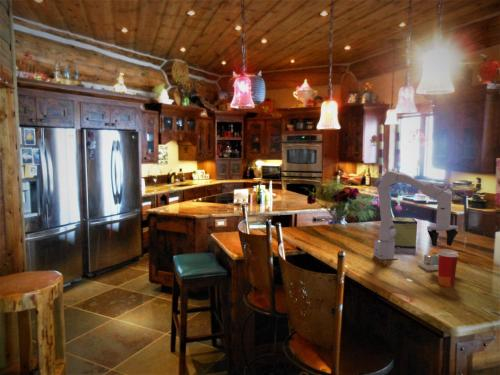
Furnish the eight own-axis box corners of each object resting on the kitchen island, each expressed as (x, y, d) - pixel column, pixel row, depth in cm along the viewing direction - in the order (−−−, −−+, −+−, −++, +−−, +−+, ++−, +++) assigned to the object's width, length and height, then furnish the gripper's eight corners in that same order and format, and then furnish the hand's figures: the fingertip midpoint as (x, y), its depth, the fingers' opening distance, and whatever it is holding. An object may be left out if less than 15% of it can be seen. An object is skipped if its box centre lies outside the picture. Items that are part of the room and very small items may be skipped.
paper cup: (450, 281, 162) (452, 248, 160) (460, 287, 154) (462, 253, 153) (431, 281, 162) (433, 248, 160) (441, 287, 154) (443, 253, 152)
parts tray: (427, 270, 175) (427, 265, 175) (418, 265, 182) (418, 261, 182) (451, 269, 177) (451, 264, 177) (441, 264, 184) (441, 260, 184)
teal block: (438, 267, 178) (439, 257, 177) (433, 264, 182) (434, 254, 181) (446, 267, 178) (447, 256, 178) (441, 264, 182) (441, 254, 182)
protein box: (416, 249, 211) (417, 221, 210) (386, 247, 214) (388, 220, 213) (412, 244, 222) (413, 217, 220) (384, 242, 225) (385, 216, 223)
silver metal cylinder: (427, 268, 177) (427, 257, 176) (421, 265, 181) (422, 255, 180) (435, 267, 177) (435, 257, 177) (429, 265, 181) (430, 254, 181)
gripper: (434, 219, 172) (432, 248, 174) (463, 218, 174) (461, 247, 176) (425, 216, 179) (423, 244, 181) (453, 215, 181) (451, 243, 183)
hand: (441, 245), depth 179 cm, fingers open, 7 cm apart
